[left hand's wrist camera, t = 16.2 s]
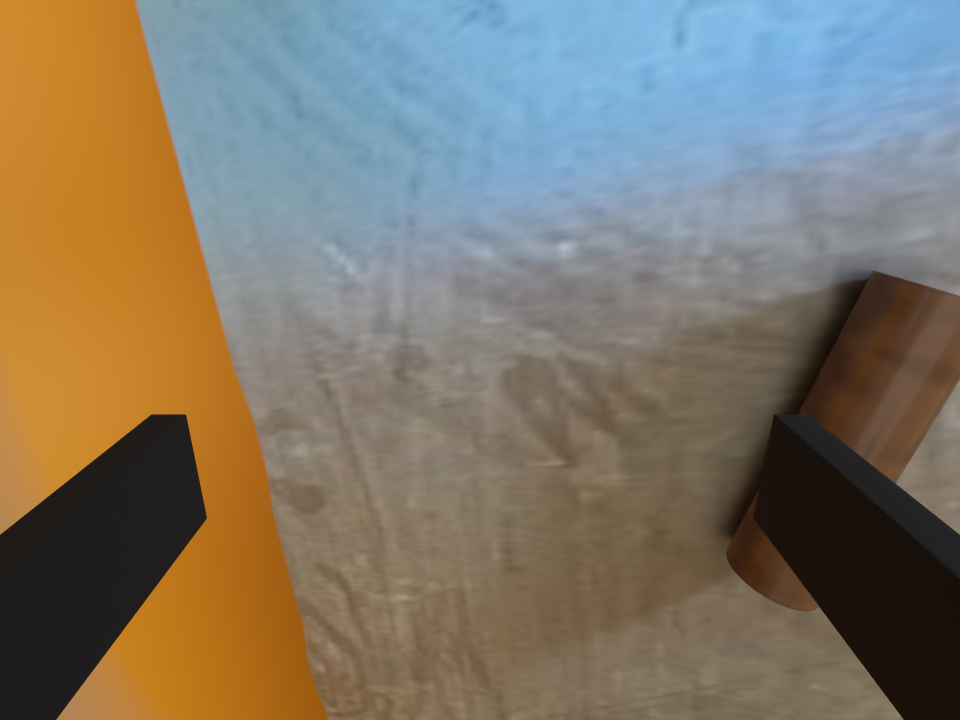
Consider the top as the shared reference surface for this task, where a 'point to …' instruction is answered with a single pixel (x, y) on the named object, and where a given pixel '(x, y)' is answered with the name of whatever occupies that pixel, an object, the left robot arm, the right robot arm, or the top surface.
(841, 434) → the rod
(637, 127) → the top surface
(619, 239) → the top surface
